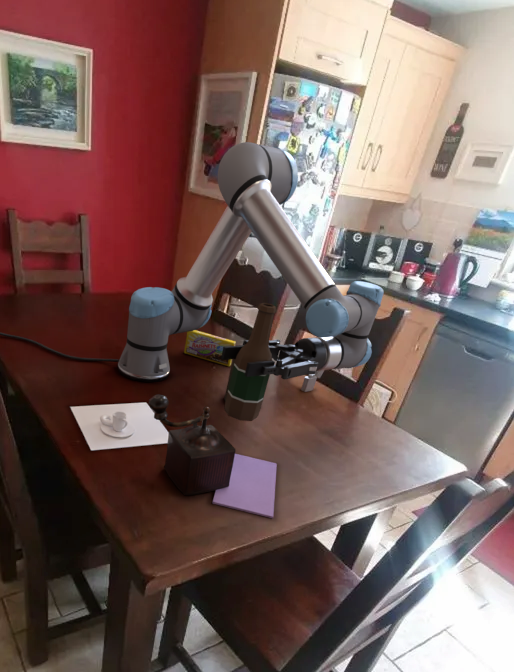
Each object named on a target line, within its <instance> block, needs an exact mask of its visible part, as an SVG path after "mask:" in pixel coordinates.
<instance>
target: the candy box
mask: <svg viewBox="0 0 514 672" xmlns="http://www.w3.org/2000/svg"><path fill="white" fill-rule="evenodd" d="M236 343H237V342H236V340H232V339H229V338H225V337H220V336H217V335H214V334H211V333H208V332H204V331H201V330H200V331H199V330H198V329H196V330H194V331H188V332H186V337H185V344H184V350H183V353H184V354H186V355H189V356H192V357H196V358H199V359H202V360H205V361H209V362H213V363H216V364H219V365H222V366H226V367H231V365H232V360H233V359H230V360H222V359H221V356H222V351H223V347H224V346H236Z"/></svg>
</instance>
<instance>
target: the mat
mask: <svg viewBox="0 0 514 672" xmlns="http://www.w3.org/2000/svg"><path fill="white" fill-rule="evenodd" d="M277 465H278V464H277V463H276V462H272V461H268V460H264V459H260V458H256V457H251V456H247V455H243V454H238V453H235V456H234V462H233V467H232V472H231V477H230V482H229V487H226V488H222V489H218V490H214V495H213V499H212V504H213V505H217V506H221V507H225V508H228V509H233V510H237V511H241V512H244V513H249V514H252V515H253V514H254V515H257V516H261V517H266V518H269V519H274V515H275V514H274V512H275V497H276V480H277V468H278V467H277Z"/></svg>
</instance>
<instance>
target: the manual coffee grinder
mask: <svg viewBox="0 0 514 672" xmlns="http://www.w3.org/2000/svg"><path fill="white" fill-rule="evenodd" d="M148 406H149V407H150V408H151V410H152V411H153V412H154V418H155V419H156V420H160V422H161V423H162V424H163V425H166V426H168V427H171V428H179V429H171V430H169V431H168V433H169V436H168V443H167V446H166V455H165V463H164V466H163V468H164V470H165V473H166V474H167V476H168V477H169V479H170V480H171V482H173V484H174V485H175V487H176V488H177V489H178V490H179V491H180V492H181V493H182V494H183V495H184V496H194V495H200V494H204V493H209V492H213V491H214V492H215V491H216V490H218V489H222V488H226V487H229V482H230V477H231V472H232V467H233V462H234V456H235V454H236V447H234V445H233V444H232V443H231V442H229V440H227V438H226V437H225V436H224V435H223V434H222V433H221V432H220V431H219V430H218V429H217V428H216V427H215V426H213V424H209V425H207V424H208V419H209V418H210V416H211V415H210V411H211V409H210V407H209V406H204V407H203V409H202V410H203V413H202V414H201V415H200V416H197V417H195V418H193V419H190V420H185V421H179V422H174V421H170V420H168V419H167V418H168V416H169V413H168V412H167V409H168V408H169V406H170V400H169V399H168V398H167V396H166V395H163V394H161V393H160V394H155V395H153V396H151V398H149V399H148ZM200 422H201V425H198V423H200ZM181 427H184V428H181Z"/></svg>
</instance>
